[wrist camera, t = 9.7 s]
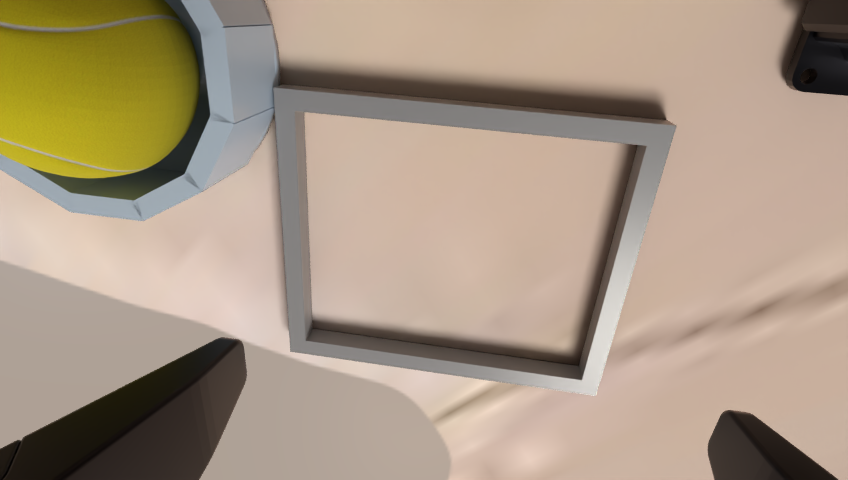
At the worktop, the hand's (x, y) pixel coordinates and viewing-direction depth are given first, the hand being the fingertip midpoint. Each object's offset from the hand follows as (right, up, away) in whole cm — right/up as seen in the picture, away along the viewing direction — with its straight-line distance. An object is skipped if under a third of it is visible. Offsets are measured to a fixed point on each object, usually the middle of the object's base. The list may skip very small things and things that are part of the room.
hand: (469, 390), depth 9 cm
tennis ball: (-12, +10, +10) cm, 18 cm away
